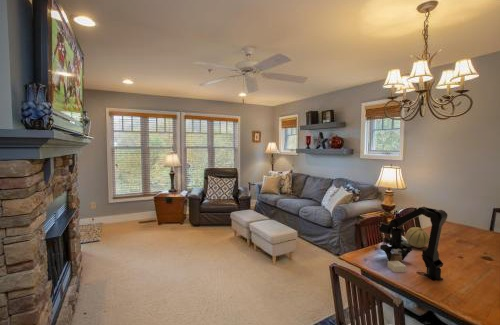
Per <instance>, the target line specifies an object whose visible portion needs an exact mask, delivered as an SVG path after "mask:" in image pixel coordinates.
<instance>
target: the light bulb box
mask: <svg viewBox="0 0 500 325" xmlns="http://www.w3.org/2000/svg"><path fill="white" fill-rule="evenodd" d="M402 240H403V242H402V244H408V245H409V243H408V240H407V239H406V237H404V235H402ZM392 250H393V251H394V253H398V254H399V255H401V249H392Z"/></svg>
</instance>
